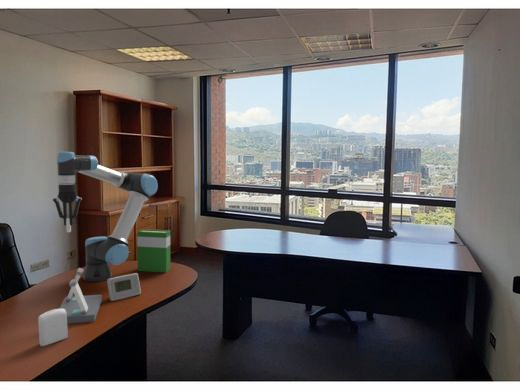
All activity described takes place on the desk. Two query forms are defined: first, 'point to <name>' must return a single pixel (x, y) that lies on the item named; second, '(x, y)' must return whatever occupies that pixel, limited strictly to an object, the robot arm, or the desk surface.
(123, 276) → the digital clock
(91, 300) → the switch unit
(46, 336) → the photo printer
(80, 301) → the lever
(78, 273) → the lever
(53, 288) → the desk surface
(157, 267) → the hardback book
